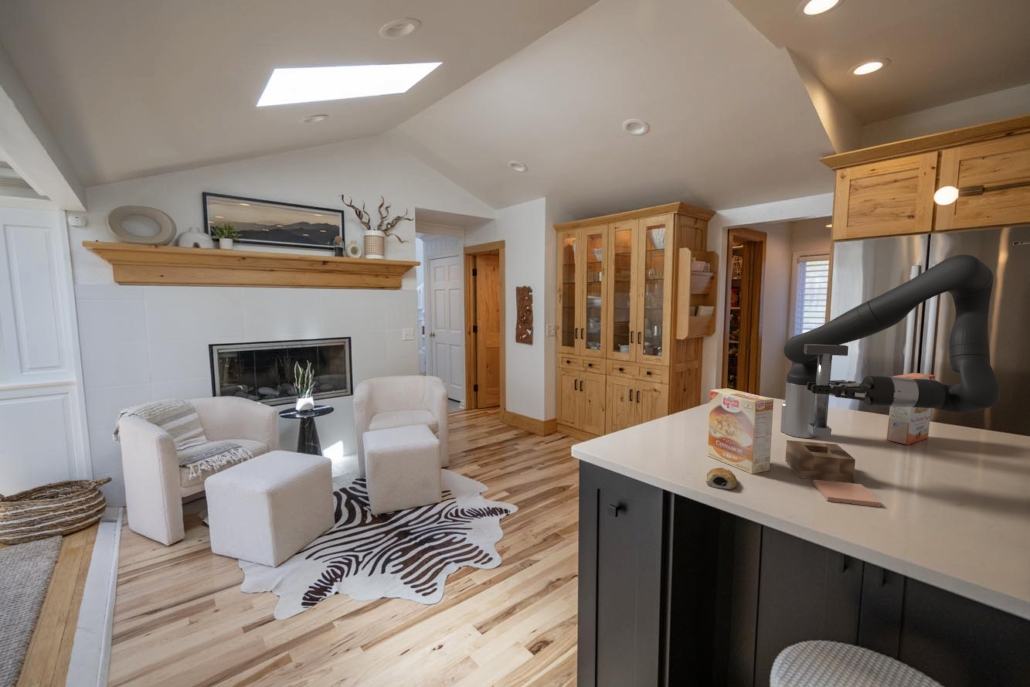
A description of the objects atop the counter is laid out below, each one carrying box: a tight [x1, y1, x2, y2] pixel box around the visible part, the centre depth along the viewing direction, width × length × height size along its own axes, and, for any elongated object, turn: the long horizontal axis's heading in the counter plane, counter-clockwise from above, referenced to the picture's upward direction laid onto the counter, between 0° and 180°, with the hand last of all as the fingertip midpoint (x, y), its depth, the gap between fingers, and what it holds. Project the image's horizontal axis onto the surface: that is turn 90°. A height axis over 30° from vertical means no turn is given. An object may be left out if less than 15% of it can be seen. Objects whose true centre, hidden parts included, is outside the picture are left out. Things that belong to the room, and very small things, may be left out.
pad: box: [812, 479, 882, 508], centre depth 106 cm, size 10×10×1 cm
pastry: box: [705, 467, 738, 490], centre depth 113 cm, size 9×7×4 cm
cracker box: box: [886, 372, 936, 446], centre depth 144 cm, size 14×6×21 cm, turn 118°
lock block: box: [785, 439, 856, 484], centre depth 120 cm, size 12×12×6 cm
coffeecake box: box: [707, 387, 775, 475], centre depth 125 cm, size 15×7×20 cm, turn 23°
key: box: [804, 344, 849, 437], centre depth 118 cm, size 9×4×23 cm, turn 73°
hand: (810, 387), depth 118 cm, fingers closed on key, 3 cm apart
